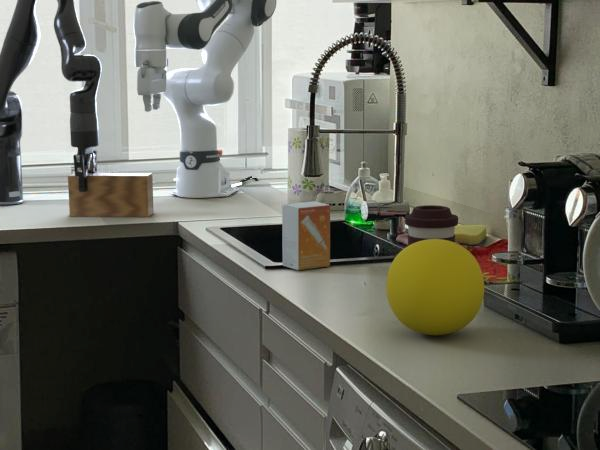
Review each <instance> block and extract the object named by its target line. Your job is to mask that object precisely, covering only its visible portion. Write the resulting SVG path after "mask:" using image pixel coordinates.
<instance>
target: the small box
mask: <svg viewBox="0 0 600 450" xmlns="http://www.w3.org/2000/svg"><path fill="white" fill-rule="evenodd" d="M281 216H282V217H281V218H282V219H281V222H282V223H281V224H282V225H281V226H282V227H281V228H282V229H281V231H282V233H281V236H282V242H281V244H282V266H283V267H286V268H288V269H289V268H290V269H291V270H296V271H301V270H302V271H303V270H309V269H318V268H319V269H320V268H326V267H330V266H331V204H328V203H323V202H319V201H314V200H313V201H305V202H303V201H302V202H294V203H285V204H282V205H281Z"/></svg>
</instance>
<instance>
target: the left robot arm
mask: <svg viewBox="0 0 600 450" xmlns="http://www.w3.org/2000/svg"><path fill="white" fill-rule="evenodd" d="M56 2H57V8H56V12H55V15H54V18H53V29H54V34H55V36H56V40H57V43H58V45H59V49H60V60H61V61H60V67H61V68H60V69H61V74H62V76H63V77H64V79H65V80H66V81H68V82H73V83H75V82H77V83H78V82H84V84H83V86H82V87H81V88H80V89H77V90H74V91H72V92H70V94H69V111H70V113H69V114H70V115H69V131H70V132H69V133H70V134H69V135H70V146H71V147H72V148H77V153H76V154H73V167H74V168H73V169H74V173H75V176H77V178H78V180H79V191H80V192H86V191H87V190H88V189H87V173H98V172H97V171H98V151H97V150H95V149H94V148H96V147H98V146H99V145H100V138H99V137H100V136H99V135H100V134H99V120H98V113H97V112H98V110H97V94H98V90H99V89H98V88H99V84H100V79H101V76H102V63H101V60H100V59H99V57H98V56H97V55H93V54H80V53H81V52H83V51H84V50H85V49H86V46H87V42H86V38H85V36H84V32H83V30H82V27H81V25H80V21H79V18H78V14H77V11H76V5H75V0H56ZM36 5H37V0H17V1H16V5H15V7H14V11H13V14H12V18H11V20H10V22H9V26H8V28H7V31H6V35H5V36H4V39H3V43H2V47H1V49H0V206H11V205H21V204H23V203H24V202H25V201H24V187H23V170H22V169H23V168H22V167H23V166H22V151H21V139H22V135H23V105H22V101H21V99H20V97H19V95H18V94H17V93H16V92H14V91H12V90H11V89H12V87H13V85H14V83H15V82H16V80H17V79H18V78H19V76H20V75H22V73H23V72H24V71H25V70H26V69H27V67H29V65H30V64H31V63H32V61H33V60H34V57H35V56H36V55H35V54H36V53H37V50H38V46H39V44H40V41H41V29H40V24H39V20H38V18H37V17H38V16H37V13H36Z"/></svg>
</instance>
